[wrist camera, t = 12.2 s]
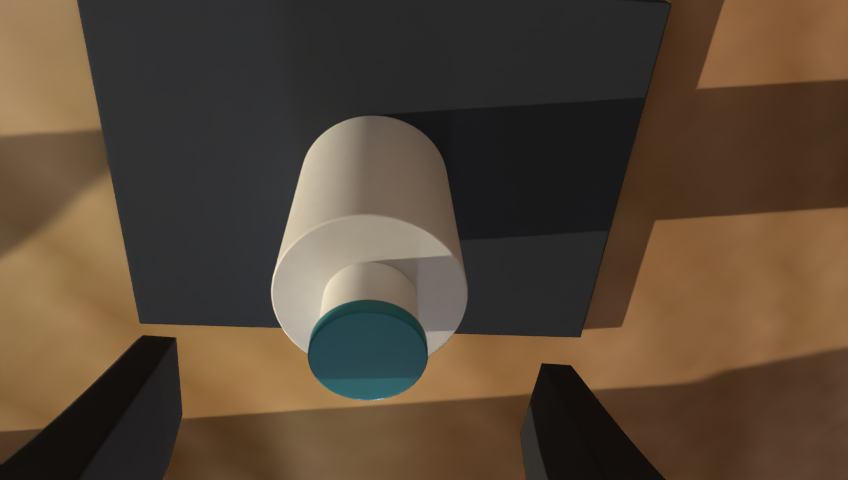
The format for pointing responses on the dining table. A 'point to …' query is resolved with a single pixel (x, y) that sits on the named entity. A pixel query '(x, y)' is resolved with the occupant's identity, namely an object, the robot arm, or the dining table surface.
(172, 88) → the mat
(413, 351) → the bottle
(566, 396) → the robot arm
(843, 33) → the dining table surface
